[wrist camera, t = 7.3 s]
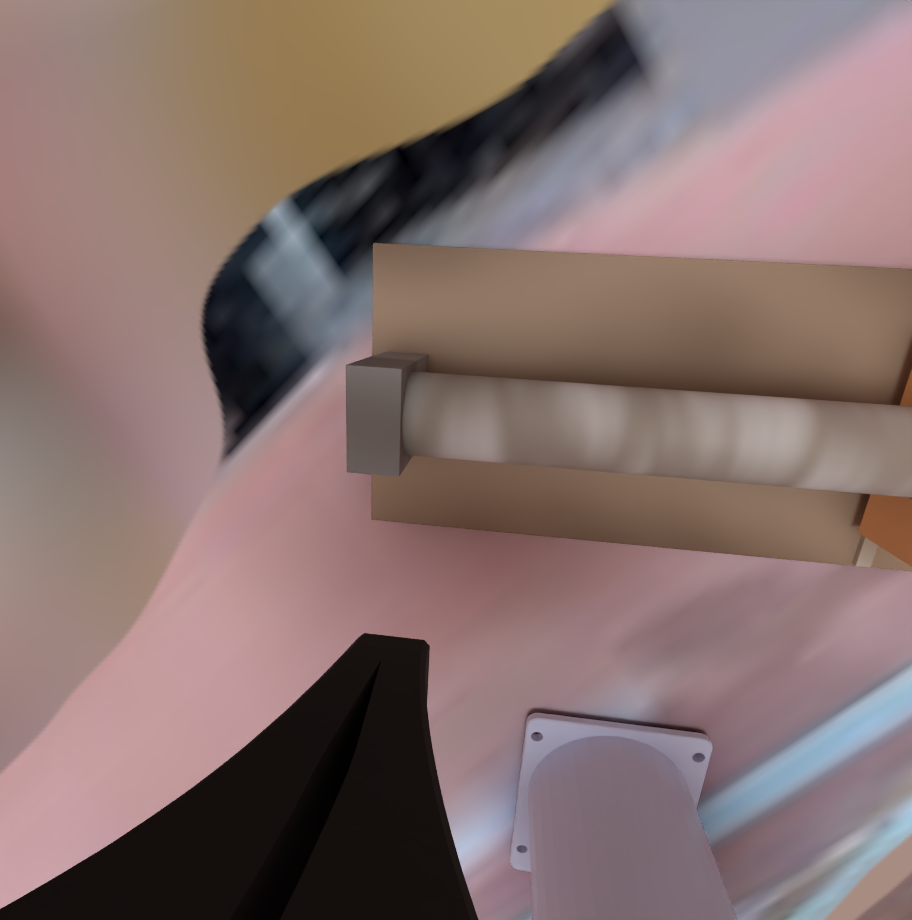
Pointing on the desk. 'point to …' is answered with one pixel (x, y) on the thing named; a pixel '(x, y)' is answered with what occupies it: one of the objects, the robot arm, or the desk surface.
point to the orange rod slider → (891, 514)
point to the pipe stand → (636, 399)
